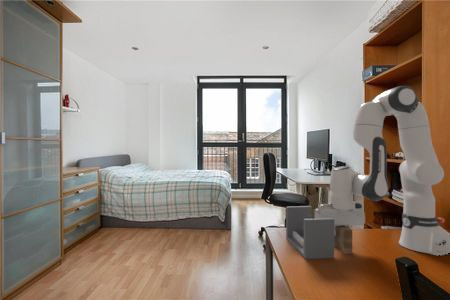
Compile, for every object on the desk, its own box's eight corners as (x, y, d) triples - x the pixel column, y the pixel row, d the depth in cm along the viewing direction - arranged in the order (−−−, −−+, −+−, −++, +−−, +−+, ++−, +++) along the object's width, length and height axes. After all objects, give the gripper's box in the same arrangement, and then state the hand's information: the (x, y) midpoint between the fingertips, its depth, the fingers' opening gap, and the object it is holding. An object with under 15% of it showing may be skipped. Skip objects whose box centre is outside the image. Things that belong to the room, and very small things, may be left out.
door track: (286, 238, 119) (286, 206, 119) (310, 237, 120) (310, 205, 120) (305, 259, 97) (305, 219, 97) (334, 257, 98) (334, 219, 98)
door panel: (330, 242, 114) (330, 221, 114) (336, 242, 114) (336, 221, 114) (345, 254, 102) (345, 230, 102) (352, 253, 102) (352, 229, 102)
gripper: (321, 205, 104) (321, 238, 104) (367, 204, 106) (367, 236, 106) (314, 202, 110) (314, 233, 110) (358, 201, 112) (357, 231, 112)
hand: (340, 235), depth 108 cm, fingers open, 4 cm apart
